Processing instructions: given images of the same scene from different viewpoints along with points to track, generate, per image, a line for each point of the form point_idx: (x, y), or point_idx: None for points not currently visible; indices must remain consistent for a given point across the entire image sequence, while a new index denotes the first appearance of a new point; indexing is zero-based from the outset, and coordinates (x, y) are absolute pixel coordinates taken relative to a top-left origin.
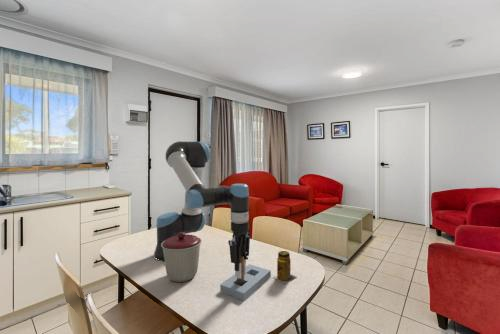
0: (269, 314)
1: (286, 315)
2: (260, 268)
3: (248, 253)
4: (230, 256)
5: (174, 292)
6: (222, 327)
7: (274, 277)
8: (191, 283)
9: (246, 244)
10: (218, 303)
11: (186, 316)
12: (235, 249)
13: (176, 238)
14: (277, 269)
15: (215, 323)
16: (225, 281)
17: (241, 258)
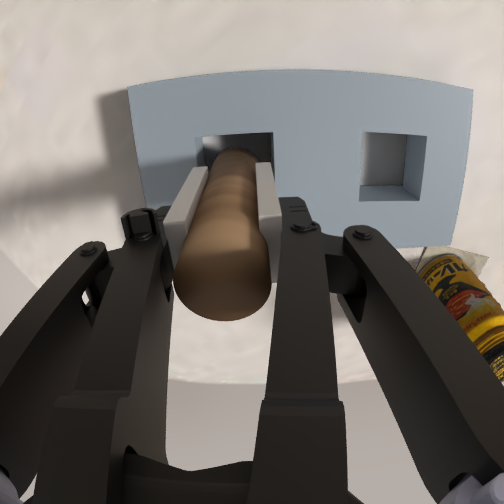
0: (176, 347)
1: (211, 378)
2: (454, 184)
3: (364, 305)
4: (37, 293)
5: None
6: (27, 270)
7: (432, 246)
8: None
9: (397, 389)
10: (72, 161)
11: None
12: (38, 433)
13: None
14: (449, 289)
15: (17, 241)
16: (177, 84)
17: (198, 314)
